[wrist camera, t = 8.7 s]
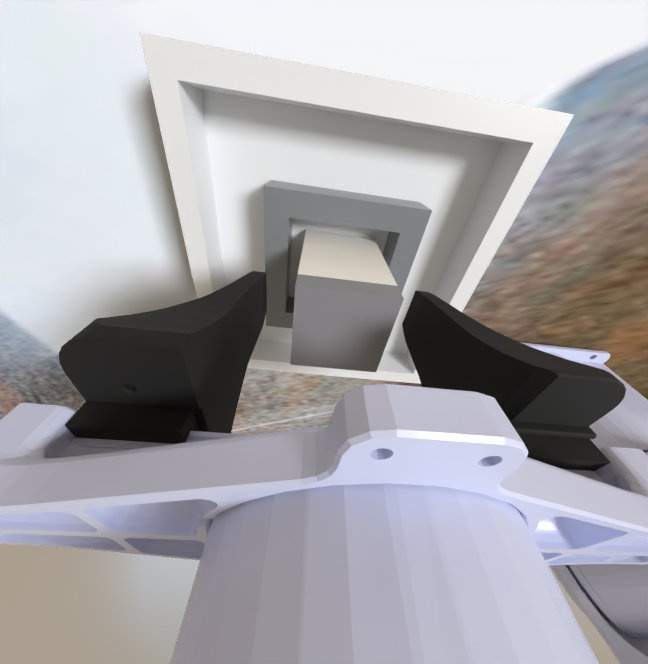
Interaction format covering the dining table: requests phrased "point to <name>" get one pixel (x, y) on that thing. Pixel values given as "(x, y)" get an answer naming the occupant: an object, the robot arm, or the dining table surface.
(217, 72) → the inlet box
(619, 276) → the dining table surface
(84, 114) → the dining table surface
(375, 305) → the connector plug
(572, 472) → the robot arm
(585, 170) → the dining table surface
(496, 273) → the dining table surface
